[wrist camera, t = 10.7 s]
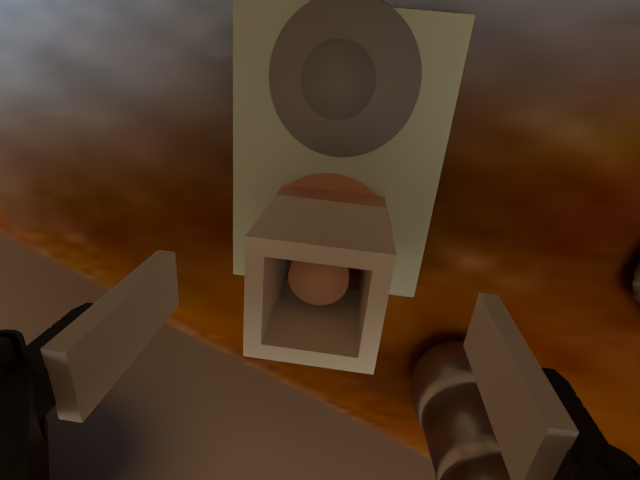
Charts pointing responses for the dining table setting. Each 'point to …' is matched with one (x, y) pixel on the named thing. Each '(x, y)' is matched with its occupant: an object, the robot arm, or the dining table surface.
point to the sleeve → (322, 248)
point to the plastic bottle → (454, 416)
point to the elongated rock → (636, 283)
